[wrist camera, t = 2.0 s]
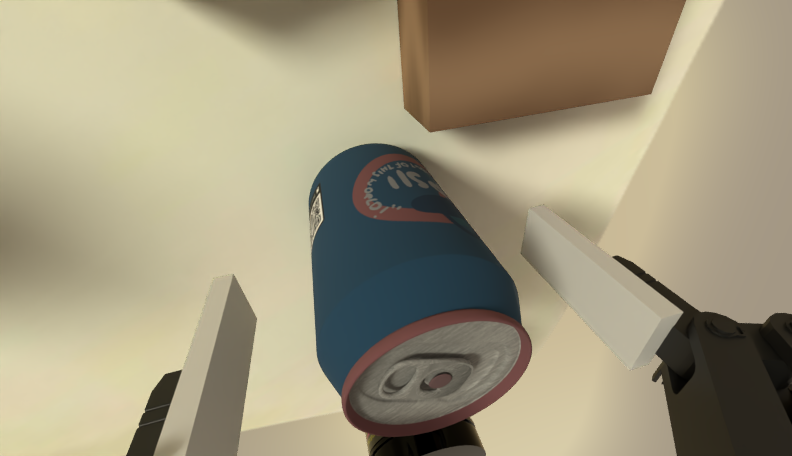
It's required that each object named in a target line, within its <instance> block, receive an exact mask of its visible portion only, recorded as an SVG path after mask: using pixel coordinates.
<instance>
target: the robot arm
mask: <svg viewBox="0 0 792 456" xmlns="http://www.w3.org/2000/svg"><path fill="white" fill-rule="evenodd" d="M521 254H522V255H523V257H524V258H525V259H526V260H527V261H528V262H529V263H530V264H531V265H532V266H533V267H534V268H535V269H536V271H537V272H538V273H539V274H540V275H541V276H542V277H543V278H544V279H545V280H546V281H547V282H548V283H549V284H550V286H551V287H552V288H553V289H554V290H555V291H556V292H557V293H558V294H559V295H560V296H561V297H562V298H563V300H564V301H565V302H566V303H567V304H568V305H569V306H570V307H571V308H572V309H573V310H574V311H575V312H576V313H577V314H578V316H579V317H580V318H582V320H583V321H584V322H585V323H586V324H587V325H588V326H589V327H590V329H591V330H592V331H593V332H594V333H595V334H596V335H597V336H598V337H599V338H600V339H601V340H602V341H603V342H604V344H605V345H606V346H607V347H608V348H609V349H610V350H611V351H612V352H613V353H614V354H615V355H616V356H617V358H618V359H619V360H620V361H621V362H622V363H623V364H624V365H625V366H626V367H627V368H628V369H629V370H633V369H636V368H639V367H643V366H646V365H648V364H649V363H650V362H651V360H652V359H653V357H654V355H655V354H656V355H657V356H658V357H660V358H661V359H662V360H663V361H662V363H661V364H660V366H659V367H658V369H657V370H656V371H655V373H654V374H653V377H652V381H654V382H656V381H657V380H658V379H659V377H660V376H661V374H662V379H663V382H662V384H663V385H664V389H665V394H666V400H667V405H668V410H669V416H670V421H671V427H672V431H673V437H674V443H675V448H676V453H677V456H792V314H787V313H775V314H773V315H772V316H770V317H769V318H768V319H767V320H766V322H765V323H764V324H751V323H748V324H747V323H737V322H736V321H734V320H732V319H730V318H728V317H726V316H723V315H720V314H717V313H712V312H699V311H698V310H697V309H695V308H694V307H692V306H691V305H690V304H688V303H687V302H686V301H684V300H683V299H682V298H680V297H679V296H678V295H676V294H675V293H673V292H672V291H671V290H669V289H668V288H667V287H665V286H664V285H663V284H661V283H660V282H659V281H656V280H655V279H654V278H653V277H651V276H650V275H649V274H646V273H645V271H644V270H642V269H641V268H640V267H638V266H637V265H635V264H634V263H633V262H631V261H628V260H626V259H624V258H622V257H620V256H613V257H611V256H610V255H609V254H607V253H606V252H605V251H603V250H602V249H601V248H600V247H598V246H597V245H596V244H594V243H593V242H592V241H590V240H589V239H588V238H587V237H585V236H584V235H583V234H581V233H580V232H579V231H577V230H576V229H575V228H574V227H572V226H571V225H570V224H568V223H567V222H566V221H564V220H563V219H562V218H561V217H559V216H558V215H557V214H555V213H554V212H553V211H552V210H550V209H549V208H548V207H546V206H545V205H540V206H535V207H531V208H529V211H528V216H527V222H526V227H525V233H524V238H523V244H522V249H521ZM256 322H257V318H256V316H255V314H254V312H253V310H252V308H251V306H250V304H249V302H248V300H247V299H246V297H245V295H244V293H243V291H242V289H241V287H240V285H239V283H238V282H237V280H236V278H235V276H234V274H230V275H225V276H221V277H217V278H213V280H212V283H211V286H210V289H209V292H208V295H207V298H206V301H205V304H204V307H203V310H202V313H201V316H200V319H199V322H198V325H197V328H196V331H195V334H194V337H193V340H192V343H191V346H190V349H189V352H188V354H187V357H186V360H185V363H184V366H183V369H182V370H179V371H176V372H172V373H168V374H165V375H164V376H163V378H162V379H161V380H160V382H159V383H158V384H157V386H156V387H155V388H154V390H153V391H152V393H151V395H150V398H149V400H148V403H147V405H146V408H145V413H143V415H142V418H141V420H140V423H139V428H138V429H137V430H136V433H135V435H134V438H133V440H132V443H131V445H130V448H129V450H128V453H127V455H126V456H237V451H238V444H239V437H240V431H241V424H242V417H243V410H244V403H245V397H246V390H247V383H248V376H249V369H250V363H251V356H252V349H253V342H254V335H255V328H256Z"/></svg>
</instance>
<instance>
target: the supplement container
mask: <svg viewBox="0 0 792 456" xmlns="http://www.w3.org/2000/svg"><path fill="white" fill-rule="evenodd" d="M366 439H367V446H368V452H369V456H486V453H485V450H484V447H483V445H482V443H481V440H480V438H479V436H478V433H477V431H476V429H475V425H474V423H473V421H472V419H471V418H470V417H468V418H466V419H464V420H462V421H460V422H457V423H455V424H452V425H450V426H447V427H444V428H441V429H438V430H434V431H431V432H426V433H422V434H417V435H410V436H400V437H385V436H377V435H372V434H368V433H366Z"/></svg>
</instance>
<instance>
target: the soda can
mask: <svg viewBox="0 0 792 456" xmlns="http://www.w3.org/2000/svg"><path fill="white" fill-rule="evenodd" d="M309 218H310V237H311V255H312V274H313V293H314V311H315V330H316V348H317V358H318V361H319V364H320V366H321V368H322V370H323V372H324V374H325V375H326V377H327V378H328V380H329V381H330V382H331V384H332V385H333V387H334V388H335V389H336V391H337V392H338V393H339V395H340V396H341V399H342V408H343V411H344V414H345V417H346V418H347V420H348V421H349V422H350V423H351V424H352V425H353V426H354V427H355V428H357V429H358V430H361V431H363V432H365V433H368V434H372V435H377V436H385V437H400V436H410V435H417V434H422V433H426V432H431V431H434V430H438V429H441V428H444V427H447V426H450V425H452V424H455V423H457V422H460V421H462V420H464V419H466V418H468V417H470V416H472V415H474V414H476V413H477V412H479V411H481V410H483V409H485V408H486V407H488V406H489V405H491V404H492V403H494V402H495V401H497V400H498V399H499V398H500V397H502V396H503V395H504V394H505V393H506V392H508V390H510V389H511V388H512V387H513V386H514V385H515V384H516V382H517V381H518V380H519V379H520V377H521V376H522V375H523V373H524V371H525V370H526V368H527V366H528V364H529V362H530V359H531V354H532V344H531V340H530V337H529V335H528V333H527V332H526V330H525V329H524V328H523V326H522V323H521V314H520V305H519V298H518V292H517V289H516V286H515V283H514V281H513V280H512V278H511V277H510V275H509V274H508V273H507V271H506V270H505V269H504V268H503V266H502V265H501V264H500V263H499V261H498V260H497V259H496V257H495V256H494V255H493V254H492V252H491V251H490V250H489V249H488V247H487V246H486V245H485V244H484V242H483V241H482V240H481V238H480V237H479V236H478V235H477V233H476V232H475V231H474V230H473V228H472V227H471V226H470V224H469V223H468V222H467V221H466V219H465V218H464V217H463V216H462V214H461V213H460V212H459V210H458V209H457V208H456V207H455V205H454V204H453V203H452V202H451V200H450V199H449V198H448V197H447V195H446V194H445V193H444V191H443V190H442V189H441V188H440V186H439V185H438V184H437V183H436V181H435V180H434V179H433V177H432V176H431V175H430V174H429V172H428V171H427V170H426V169H425V167H424V166H423V165H422V164H421V162H420V161H419V160H418V159H417V158H416V157H414V156H413V155H412V154H410V153H409V152H407V151H405V150H403V149H401V148H399V147H396V146H392V145H387V144H377V143H374V144H364V145H359V146H356V147H353V148H350V149H348V150H345V151H343V152H342V153H340V154H338V155H337V156H335V157H334V158H332V159H331V160H330V161H329V162H328V163H327V164H326V165H325V166H324V167H323V168H322V169H321V171H320V172H319V174H318V175H317V177H316V178H315V180H314V183H313V185H312V188H311V191H310V196H309Z"/></svg>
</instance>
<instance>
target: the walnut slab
mask: <svg viewBox="0 0 792 456" xmlns="http://www.w3.org/2000/svg"><path fill="white" fill-rule="evenodd" d="M685 2H686V0H397V4H398V19H399V34H400V50H401V65H402V80H403V95H404V109H405V110H407V111H408V112H409V113H410V114H411V115H412V116H413V117H414V118H415V119H416V120H417V121H418V122H419V123H420V124H422V125H423V126H424V127H425V128H426V129H427V130H428V131H429V132H435V131H441V130H447V129H453V128H458V127H464V126H470V125H476V124H481V123H487V122H493V121H499V120H504V119H510V118H516V117H522V116H527V115H533V114H539V113H545V112H550V111H556V110H562V109H568V108H573V107H579V106H585V105H591V104H596V103H602V102H608V101H614V100H619V99H625V98H631V97H637V96H642V95H648V94H651V93H652V90H653V87H654V85H655V82H656V79H657V77H658V74H659V71H660V69H661V66H662V63H663V61H664V58H665V55H666V53H667V50H668V47H669V45H670V42H671V39H672V37H673V34H674V31H675V28H676V26H677V23H678V20H679V18H680V15H681V12H682V10H683V7H684V4H685Z"/></svg>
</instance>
